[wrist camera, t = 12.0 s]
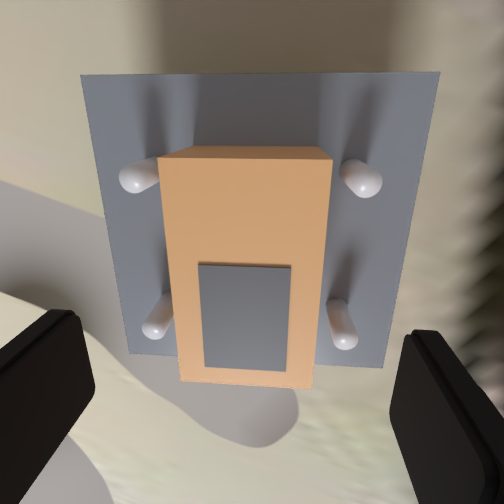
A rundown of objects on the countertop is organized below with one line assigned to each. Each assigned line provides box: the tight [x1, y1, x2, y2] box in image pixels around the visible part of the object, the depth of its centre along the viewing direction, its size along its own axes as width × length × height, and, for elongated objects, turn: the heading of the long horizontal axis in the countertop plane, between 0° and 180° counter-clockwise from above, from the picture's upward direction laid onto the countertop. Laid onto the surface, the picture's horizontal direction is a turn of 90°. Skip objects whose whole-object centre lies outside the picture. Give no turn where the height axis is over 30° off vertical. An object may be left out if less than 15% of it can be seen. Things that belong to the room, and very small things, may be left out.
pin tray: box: [80, 72, 440, 368], centre depth 17 cm, size 16×16×4 cm
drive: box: [157, 146, 333, 389], centre depth 15 cm, size 10×6×5 cm, turn 0°
